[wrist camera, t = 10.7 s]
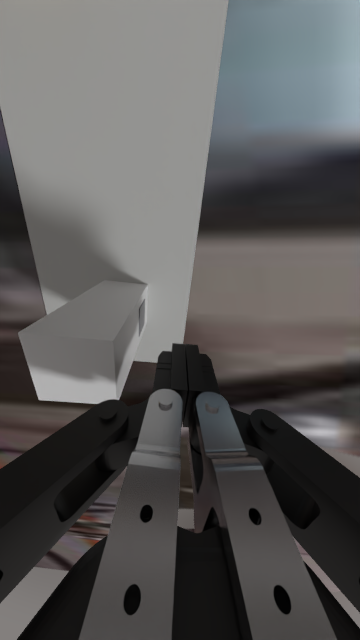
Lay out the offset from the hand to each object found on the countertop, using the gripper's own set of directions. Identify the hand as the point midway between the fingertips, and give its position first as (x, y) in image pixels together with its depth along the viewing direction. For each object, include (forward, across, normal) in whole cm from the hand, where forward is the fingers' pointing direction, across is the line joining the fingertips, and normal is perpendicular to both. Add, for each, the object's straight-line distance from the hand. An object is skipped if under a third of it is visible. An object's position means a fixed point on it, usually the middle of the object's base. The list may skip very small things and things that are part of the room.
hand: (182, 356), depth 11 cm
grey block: (+8, +5, 0) cm, 10 cm away
